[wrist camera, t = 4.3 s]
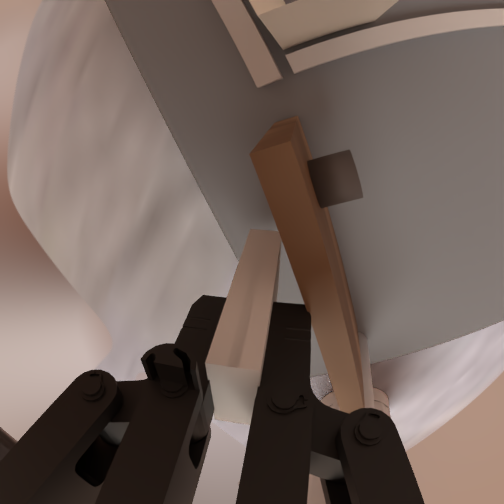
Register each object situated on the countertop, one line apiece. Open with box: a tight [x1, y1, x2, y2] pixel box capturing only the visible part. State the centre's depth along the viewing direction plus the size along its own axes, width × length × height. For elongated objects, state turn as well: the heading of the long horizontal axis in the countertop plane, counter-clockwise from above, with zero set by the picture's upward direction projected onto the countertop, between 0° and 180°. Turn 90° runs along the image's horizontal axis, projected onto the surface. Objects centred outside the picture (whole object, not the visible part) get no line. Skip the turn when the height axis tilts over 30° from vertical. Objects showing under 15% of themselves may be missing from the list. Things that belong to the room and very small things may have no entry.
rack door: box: [249, 116, 365, 414], centre depth 12 cm, size 2×12×6 cm, turn 21°
